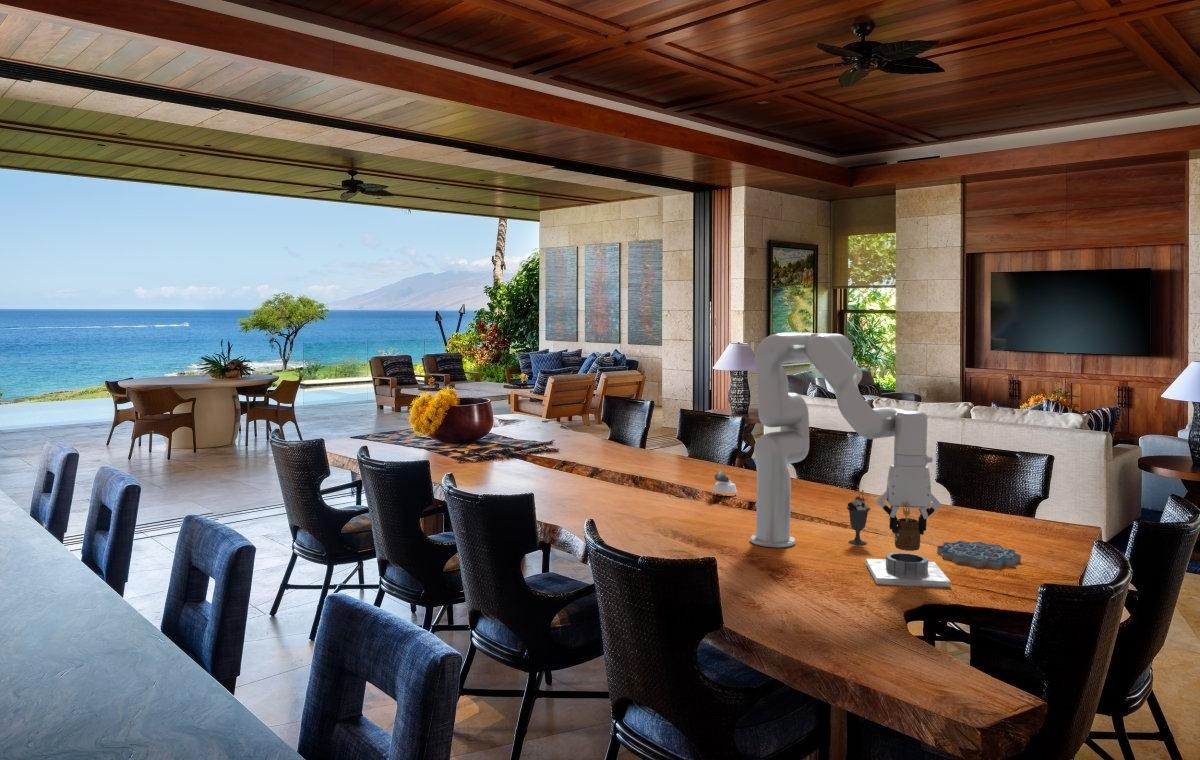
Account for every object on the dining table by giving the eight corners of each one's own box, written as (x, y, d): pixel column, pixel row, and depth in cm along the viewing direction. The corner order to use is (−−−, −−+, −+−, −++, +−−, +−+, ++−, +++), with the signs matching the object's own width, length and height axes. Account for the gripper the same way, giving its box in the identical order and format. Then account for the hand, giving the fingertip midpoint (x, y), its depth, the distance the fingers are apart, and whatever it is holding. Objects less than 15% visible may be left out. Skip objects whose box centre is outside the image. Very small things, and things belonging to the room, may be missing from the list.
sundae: (869, 540, 245) (870, 489, 244) (869, 546, 239) (871, 494, 238) (845, 539, 247) (846, 488, 246) (845, 544, 241) (847, 492, 240)
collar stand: (865, 564, 222) (866, 547, 221) (934, 567, 219) (934, 550, 219) (876, 583, 205) (877, 565, 204) (950, 587, 202) (951, 569, 202)
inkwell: (739, 493, 313) (739, 466, 312) (732, 502, 296) (732, 474, 295) (714, 491, 316) (714, 464, 315) (705, 501, 298) (706, 472, 298)
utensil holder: (921, 547, 213) (923, 499, 212) (917, 552, 207) (918, 504, 206) (897, 543, 216) (898, 497, 215) (892, 549, 210) (893, 501, 209)
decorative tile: (951, 545, 243) (951, 537, 243) (1027, 557, 230) (1027, 549, 230) (927, 560, 227) (928, 551, 227) (1008, 574, 215) (1008, 565, 214)
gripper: (942, 459, 212) (940, 530, 214) (871, 457, 215) (869, 527, 216) (950, 464, 205) (947, 538, 206) (876, 462, 208) (874, 535, 209)
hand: (907, 532), depth 211 cm, fingers closed on utensil holder, 5 cm apart
